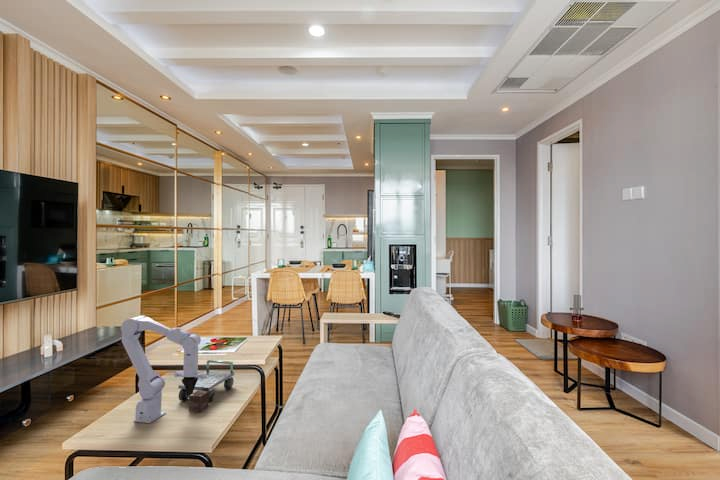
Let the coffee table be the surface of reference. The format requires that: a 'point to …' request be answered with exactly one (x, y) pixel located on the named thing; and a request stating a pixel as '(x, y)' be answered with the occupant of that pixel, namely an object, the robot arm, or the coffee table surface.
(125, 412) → the coffee table surface
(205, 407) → the box
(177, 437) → the coffee table surface
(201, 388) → the trolley
